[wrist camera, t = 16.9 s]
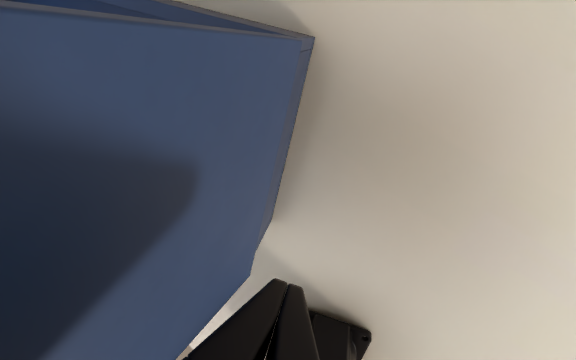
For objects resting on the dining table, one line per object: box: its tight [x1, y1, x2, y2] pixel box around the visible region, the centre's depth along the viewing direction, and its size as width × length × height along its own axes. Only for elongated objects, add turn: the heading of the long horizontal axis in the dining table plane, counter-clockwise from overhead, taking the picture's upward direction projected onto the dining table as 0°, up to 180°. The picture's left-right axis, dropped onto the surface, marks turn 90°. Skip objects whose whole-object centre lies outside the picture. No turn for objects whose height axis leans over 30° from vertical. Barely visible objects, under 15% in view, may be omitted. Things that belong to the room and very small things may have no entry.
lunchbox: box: [5, 0, 315, 252], centre depth 19 cm, size 19×12×5 cm, turn 77°
